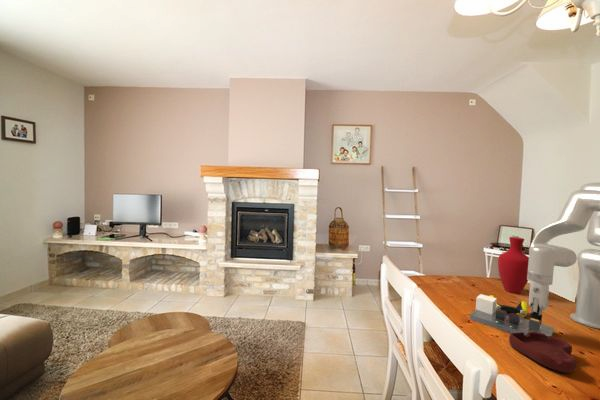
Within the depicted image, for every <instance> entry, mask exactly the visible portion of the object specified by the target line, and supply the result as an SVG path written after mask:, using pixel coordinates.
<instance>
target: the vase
mask: <svg viewBox="0 0 600 400" xmlns="http://www.w3.org/2000/svg"><path fill="white" fill-rule="evenodd" d="M524 241H525V238H523V237H517V236H509V244H510V247H509V250H507V251H505V252H502V253H501V254H500V255H499V256H498V258H497V266H498V273H499V278H500V281H501V283H502V286H503V289H504V291H506V292H507V293H511V294H518V295H519V294H521V293H522V291H523V290H524V288H525V286H526V285H527V284H528V282H529V280H527V274H528V262H529V255H526V254H525V253H524V252H523V250H522V247H523V245H524Z"/></svg>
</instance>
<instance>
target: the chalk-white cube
mask: <svg viewBox="0 0 600 400" xmlns="http://www.w3.org/2000/svg"><path fill="white" fill-rule="evenodd" d="M475 299H476V300H475V310H479V311H482V312H485V313H488V314H493V313H494V312H495V311H496V304H497V302H498V298H497V297H495V298H493V297H490V295H485V294H482V293H480V294H479V295H477V296H476V298H475Z"/></svg>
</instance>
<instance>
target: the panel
mask: <svg viewBox="0 0 600 400" xmlns="http://www.w3.org/2000/svg"><path fill="white" fill-rule="evenodd" d="M520 316H521V315H518V314H515V313H510V314H508V313H507V311H505V310H501V309H497V310H496V311H495V312H494V313H493V314H488V313H485V312H482V311H479V310H476V309H475V310H474V311H473V312H471V313H470V314H469V320H471V321H474V322H477V323H480V324H482V325H486V326H489V327H491V328H495V329H498V330H500V331H503V332H505V333H509V334H511V333H520V332H523V333H524V335H527V334H528V333H529V332H539V333H543V334H545V335H546V336H553V335H554V333H555V327H553V326H550V325H546V324H544V323H541V325H540V330H539V331H535V330H532V329H529V319H527V318H525V317H524V318H521V317H520ZM553 337H554V336H553Z"/></svg>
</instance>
